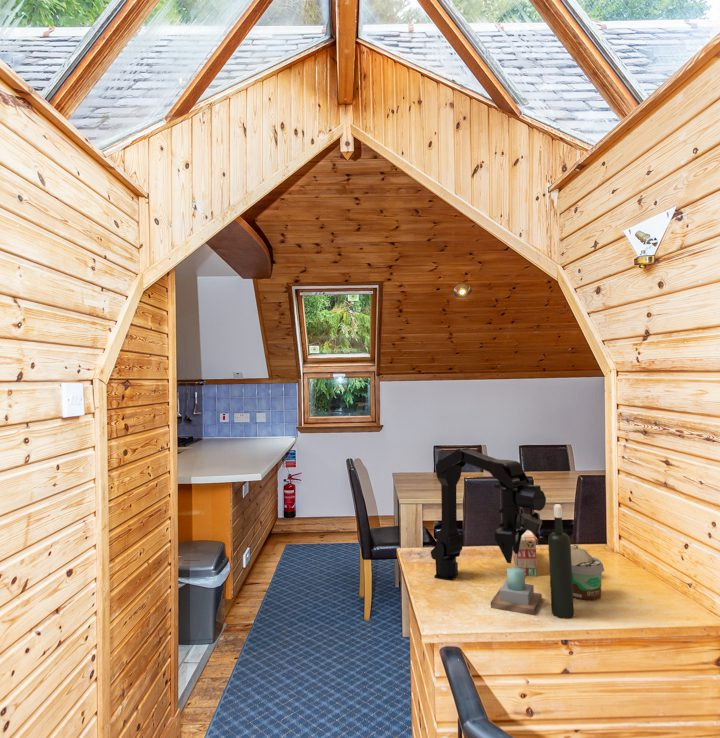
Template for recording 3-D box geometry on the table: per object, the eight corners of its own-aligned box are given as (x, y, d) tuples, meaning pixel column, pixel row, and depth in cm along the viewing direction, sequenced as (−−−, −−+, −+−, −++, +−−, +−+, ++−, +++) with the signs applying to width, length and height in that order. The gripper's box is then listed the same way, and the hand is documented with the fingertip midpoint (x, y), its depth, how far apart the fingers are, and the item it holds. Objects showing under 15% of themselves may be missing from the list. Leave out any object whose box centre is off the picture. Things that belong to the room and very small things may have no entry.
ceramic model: (606, 577, 171) (604, 546, 172) (585, 585, 165) (583, 553, 166) (568, 566, 183) (567, 537, 184) (547, 573, 177) (546, 543, 178)
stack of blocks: (512, 556, 196) (510, 522, 196) (529, 556, 195) (528, 522, 195) (517, 576, 175) (516, 539, 175) (537, 577, 174) (535, 539, 174)
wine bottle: (562, 620, 142) (557, 508, 143) (547, 612, 147) (542, 503, 148) (578, 615, 144) (573, 505, 145) (562, 608, 149) (557, 501, 150)
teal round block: (505, 589, 152) (505, 571, 153) (509, 583, 157) (508, 566, 157) (523, 591, 150) (522, 574, 150) (526, 585, 155) (525, 568, 155)
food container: (586, 606, 150) (584, 570, 150) (568, 598, 155) (566, 564, 156) (614, 596, 156) (612, 562, 156) (596, 590, 161) (595, 556, 162)
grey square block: (499, 600, 152) (499, 590, 152) (506, 590, 159) (506, 580, 159) (528, 605, 148) (527, 594, 148) (533, 595, 155) (533, 584, 155)
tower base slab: (491, 610, 151) (490, 602, 151) (501, 595, 162) (501, 587, 162) (534, 618, 145) (533, 609, 145) (542, 602, 156) (541, 593, 156)
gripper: (532, 514, 143) (535, 572, 143) (544, 500, 159) (547, 552, 159) (491, 510, 148) (494, 566, 148) (507, 497, 165) (509, 547, 164)
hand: (512, 558), depth 155 cm, fingers open, 9 cm apart
